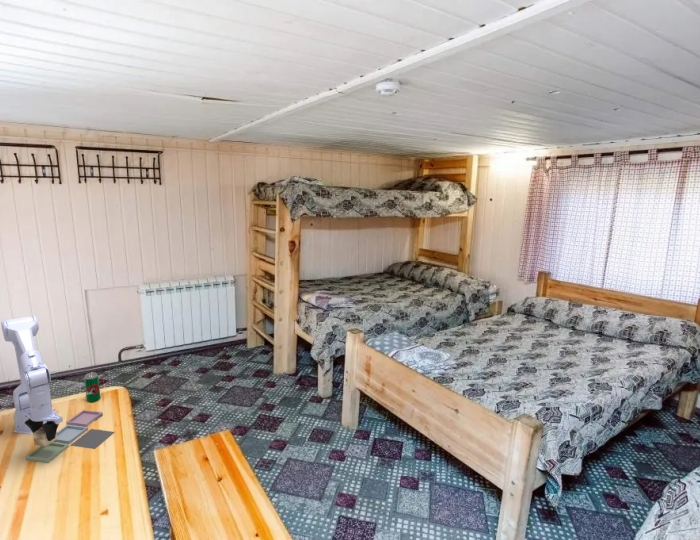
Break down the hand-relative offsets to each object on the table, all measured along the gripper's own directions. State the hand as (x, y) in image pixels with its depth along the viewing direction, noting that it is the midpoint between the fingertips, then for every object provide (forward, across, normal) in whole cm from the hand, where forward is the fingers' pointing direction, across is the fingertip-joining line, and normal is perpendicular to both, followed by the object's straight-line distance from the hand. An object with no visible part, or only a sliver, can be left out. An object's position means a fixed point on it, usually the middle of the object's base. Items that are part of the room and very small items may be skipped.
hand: (45, 438), depth 136 cm
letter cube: (+1, 0, 0) cm, 1 cm away
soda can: (+7, +14, -33) cm, 36 cm away
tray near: (+6, 0, 0) cm, 6 cm away
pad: (+6, -8, -11) cm, 15 cm away
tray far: (+6, +5, -20) cm, 21 cm away
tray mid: (+6, +2, -10) cm, 12 cm away
